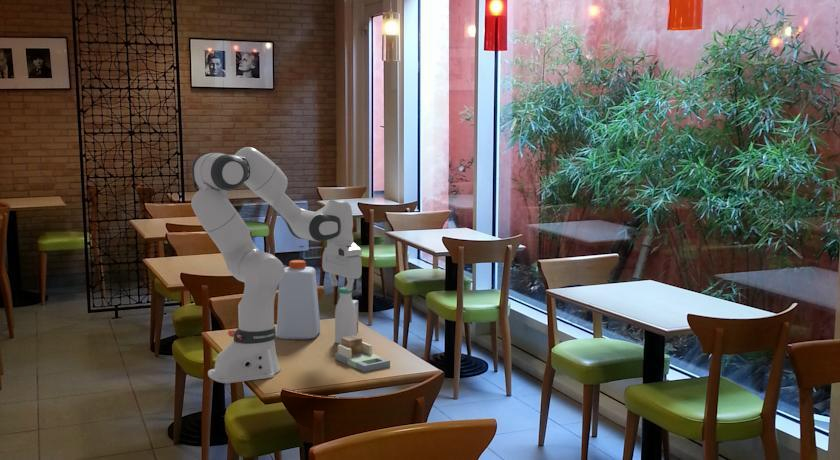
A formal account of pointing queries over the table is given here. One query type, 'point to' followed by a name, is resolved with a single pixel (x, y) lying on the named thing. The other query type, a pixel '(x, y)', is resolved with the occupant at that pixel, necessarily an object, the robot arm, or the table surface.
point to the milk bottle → (345, 316)
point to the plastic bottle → (298, 303)
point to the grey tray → (361, 358)
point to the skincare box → (356, 310)
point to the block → (353, 343)
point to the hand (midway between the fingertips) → (341, 288)
